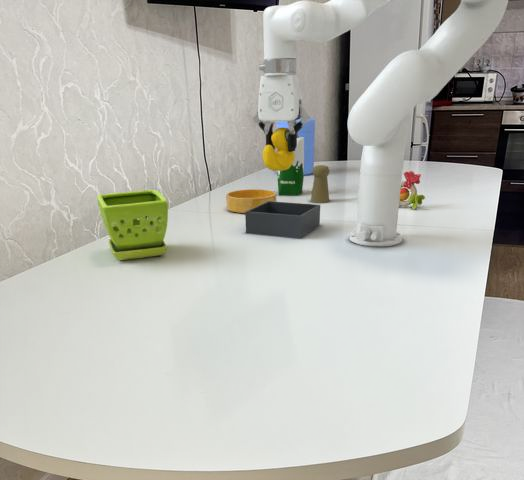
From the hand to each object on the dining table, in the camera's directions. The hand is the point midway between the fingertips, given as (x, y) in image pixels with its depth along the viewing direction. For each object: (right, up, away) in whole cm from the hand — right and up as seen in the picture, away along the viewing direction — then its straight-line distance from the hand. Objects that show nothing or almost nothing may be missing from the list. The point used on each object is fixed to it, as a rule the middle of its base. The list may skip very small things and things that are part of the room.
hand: (281, 150), depth 131 cm
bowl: (-8, -6, +30) cm, 32 cm away
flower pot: (-33, -28, -10) cm, 45 cm away
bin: (+1, -18, +7) cm, 19 cm away
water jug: (+9, +25, +92) cm, 96 cm away
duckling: (0, -4, +2) cm, 5 cm away
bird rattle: (+39, -7, +28) cm, 48 cm away
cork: (+14, -2, +39) cm, 41 cm away
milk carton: (+5, +4, +52) cm, 52 cm away
